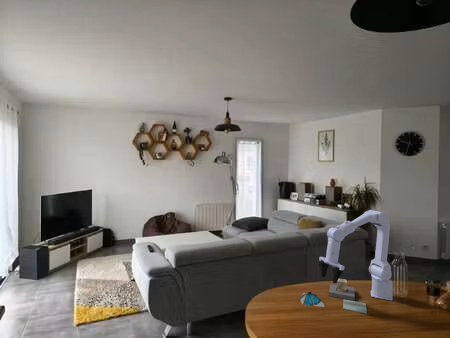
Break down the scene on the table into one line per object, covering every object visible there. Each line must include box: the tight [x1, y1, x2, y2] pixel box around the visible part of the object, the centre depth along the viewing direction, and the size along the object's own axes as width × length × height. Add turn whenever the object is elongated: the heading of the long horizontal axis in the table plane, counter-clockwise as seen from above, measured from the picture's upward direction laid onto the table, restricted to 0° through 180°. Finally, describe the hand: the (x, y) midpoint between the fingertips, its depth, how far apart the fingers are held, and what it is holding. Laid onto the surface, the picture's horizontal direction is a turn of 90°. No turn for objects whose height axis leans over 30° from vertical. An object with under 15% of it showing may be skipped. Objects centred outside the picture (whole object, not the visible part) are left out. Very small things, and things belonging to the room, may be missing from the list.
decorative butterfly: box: [298, 291, 325, 308], centre depth 143 cm, size 10×6×10 cm
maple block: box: [336, 278, 348, 293], centre depth 153 cm, size 4×4×7 cm
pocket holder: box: [328, 283, 355, 301], centre depth 153 cm, size 12×12×2 cm
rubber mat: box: [342, 299, 368, 315], centre depth 139 cm, size 10×10×1 cm
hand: (328, 279), depth 145 cm, fingers open, 7 cm apart
